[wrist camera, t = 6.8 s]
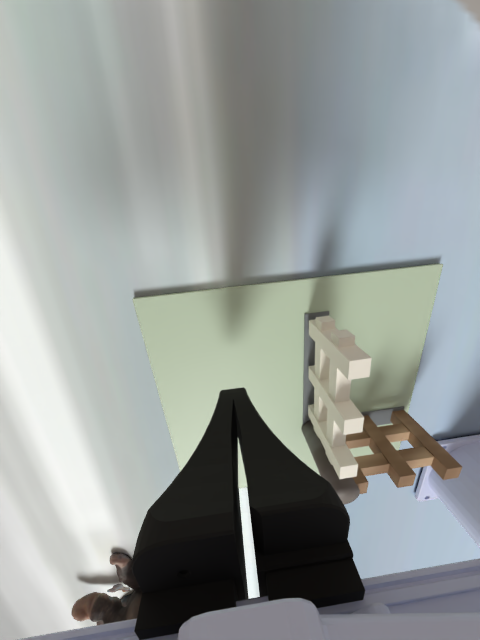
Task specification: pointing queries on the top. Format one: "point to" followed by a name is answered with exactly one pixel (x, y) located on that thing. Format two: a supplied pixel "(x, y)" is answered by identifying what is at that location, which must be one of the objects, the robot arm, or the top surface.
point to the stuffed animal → (111, 598)
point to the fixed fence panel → (384, 455)
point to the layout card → (284, 349)
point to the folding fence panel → (336, 391)
